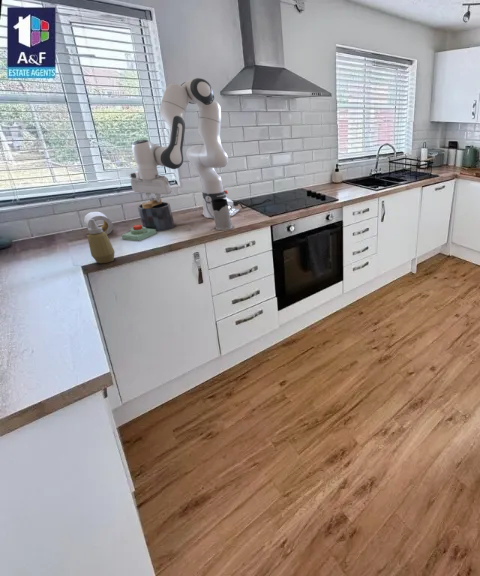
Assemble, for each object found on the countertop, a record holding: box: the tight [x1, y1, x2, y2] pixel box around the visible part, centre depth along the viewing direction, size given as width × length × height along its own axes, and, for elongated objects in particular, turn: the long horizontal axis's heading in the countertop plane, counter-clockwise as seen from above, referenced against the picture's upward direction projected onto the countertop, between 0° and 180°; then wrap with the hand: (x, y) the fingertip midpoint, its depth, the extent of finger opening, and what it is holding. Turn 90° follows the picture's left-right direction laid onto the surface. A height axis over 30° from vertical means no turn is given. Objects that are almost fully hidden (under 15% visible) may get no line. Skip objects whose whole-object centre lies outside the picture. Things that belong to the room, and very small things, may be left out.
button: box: [132, 224, 143, 230], centre depth 182 cm, size 4×4×2 cm
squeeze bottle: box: [86, 219, 116, 264], centre depth 152 cm, size 8×8×18 cm
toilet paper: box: [83, 211, 114, 236], centre depth 184 cm, size 10×10×10 cm
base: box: [121, 226, 157, 242], centre depth 184 cm, size 12×9×4 cm
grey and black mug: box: [206, 199, 233, 231], centre depth 198 cm, size 9×14×15 cm, turn 68°
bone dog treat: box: [141, 198, 163, 208], centre depth 191 cm, size 11×4×2 cm, turn 170°
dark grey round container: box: [137, 201, 176, 232], centre depth 195 cm, size 15×15×12 cm
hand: (155, 201), depth 193 cm, fingers closed on bone dog treat, 2 cm apart
